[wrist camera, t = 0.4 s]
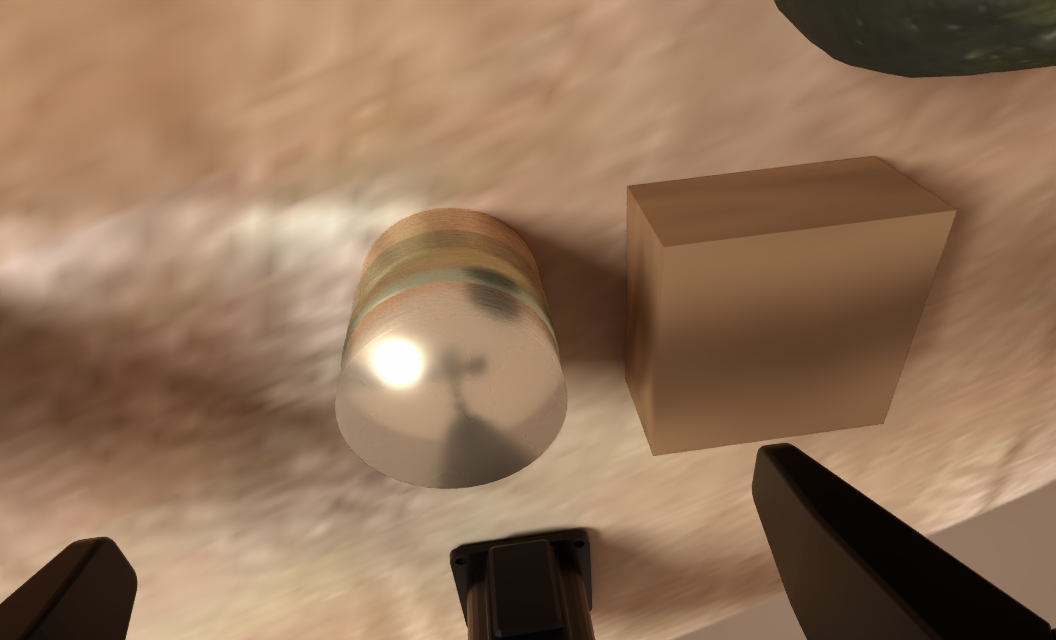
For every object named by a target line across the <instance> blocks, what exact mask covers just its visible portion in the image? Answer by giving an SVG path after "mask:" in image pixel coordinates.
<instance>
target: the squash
mask: <svg viewBox="0 0 1056 640" xmlns="http://www.w3.org/2000/svg"><path fill="white" fill-rule="evenodd" d="M774 1H775V3H776V6H777V7H778V9H779V10H780V11H781V12H782V13H783V14H784V15H785V16H786V17H787V18H788V19H789V21H790V22H791V23H792V24H793V25H794V26H795V27H796V28H797V29H798V30H799V31H800V32H801V33H802V34H803V35H804V36H805V37H806V38H807V39H808V40H809V41H810V42H812V43H813V44H815V45H816V46H818V47H819V48H820V49H822V50H823V51H825V52H826V53H827V54H828V55H830V56H831V57H832V58H834V59H836V60H838V61H841V62H843V63H845V64H848V65H851V66H855V67H860V68H864V69H869V70H873V71H878V72H882V73H887V74H893V75H898V76H904V77H910V78H916V77H941V76H967V75H977V74H984V73H990V72H1005V71H1016V70H1024V69H1032V68H1041V67H1049V66H1056V0H774Z"/></svg>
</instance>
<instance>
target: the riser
mask: <svg viewBox="0 0 1056 640" xmlns="http://www.w3.org/2000/svg"><path fill="white" fill-rule="evenodd" d="M956 212H957V209H955V208H953V207H952V206H950V205H949V204H947V203H946V202H944V201H943V200H941V199H940V198H938V197H937V196H935V195H933V194H932V193H930V192H929V191H927V190H926V189H924V188H923V187H921V186H920V185H918V184H917V183H915V182H913V181H912V180H910V179H909V178H907V177H906V176H904V175H903V174H901V173H900V172H898V171H897V170H895V169H893V168H892V167H890V166H889V165H887V164H886V163H884V162H883V161H881V160H880V159H878V158H877V157H875V156H870V157H862V158H854V159H846V160H838V161H830V162H821V163H813V164H805V165H797V166H789V167H781V168H772V169H764V170H756V171H748V172H740V173H732V174H723V175H715V176H707V177H699V178H691V179H683V180H674V181H666V182H658V183H650V184H642V185H634V186H627V273H626V366H625V379H626V382H627V385H628V388H629V390H630V393H631V396H632V399H633V401H634V404H635V407H636V410H637V412H638V415H639V418H640V421H641V424H642V426H643V429H644V432H645V435H646V437H647V440H648V443H649V446H650V449H651V451H652V454H653V456H657V455H664V454H671V453H678V452H685V451H692V450H700V449H707V448H714V447H721V446H728V445H735V444H742V443H749V442H757V441H764V440H771V439H778V438H785V437H792V436H799V435H806V434H813V433H821V432H828V431H835V430H842V429H849V428H856V427H863V426H870V425H878V424H884V421H885V418H886V415H887V412H888V409H889V407H890V404H891V401H892V398H893V395H894V392H895V389H896V386H897V383H898V380H899V378H900V375H901V372H902V369H903V366H904V363H905V360H906V357H907V354H908V351H909V349H910V346H911V343H912V340H913V337H914V334H915V331H916V328H917V325H918V322H919V320H920V317H921V314H922V311H923V308H924V305H925V302H926V299H927V296H928V293H929V291H930V288H931V285H932V282H933V279H934V276H935V273H936V270H937V267H938V265H939V262H940V259H941V256H942V253H943V250H944V247H945V244H946V241H947V238H948V236H949V233H950V230H951V227H952V224H953V221H954V218H955V215H956Z"/></svg>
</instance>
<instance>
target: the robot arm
mask: <svg viewBox="0 0 1056 640" xmlns="http://www.w3.org/2000/svg"><path fill="white" fill-rule="evenodd" d="M752 495H753V499H754V503H755V506H756V509H757V511H758V514H759V517H760V520H761V523H762V526H763V528H764V531H765V534H766V537H767V540H768V543H769V545H770V548H771V551H772V554H773V557H774V560H775V562H776V565H777V568H778V571H779V574H780V577H781V579H782V582H783V585H784V588H785V591H786V593H787V596H788V598H789V601H790V604H791V606H792V608H793V610H794V613H795V615H796V617H797V619H798V621H799V624H800V626H801V627H802V630H803V632H804V634H805V636H806V638H807V640H1056V628H1054V629H1051V626H1050V624H1049V623H1048V622H1047V621H1045V620H1044V619H1042V618H1041V617H1039V616H1038V615H1037V614H1035V613H1034V612H1032V611H1031V610H1029V609H1028V608H1026V607H1025V606H1023V605H1022V604H1021V603H1019V602H1018V601H1016V600H1015V599H1013V598H1012V597H1011V596H1009V595H1008V594H1006V593H1005V592H1003V591H1002V590H1001V589H999V588H998V587H996V586H995V585H993V584H992V583H991V582H989V581H988V580H986V579H985V578H983V577H982V576H980V575H979V574H978V573H976V572H975V571H973V570H972V569H970V568H969V567H968V566H966V565H965V564H963V563H962V562H960V561H959V560H957V559H956V558H954V557H953V556H952V555H950V554H949V553H947V552H946V551H944V550H943V549H942V548H940V547H939V546H937V545H936V544H934V543H933V542H932V541H930V540H929V539H927V538H926V537H924V536H923V535H922V534H920V533H919V532H917V531H916V530H914V529H913V528H911V527H910V526H909V525H907V524H906V523H904V522H903V521H901V520H900V519H899V518H897V517H896V516H894V515H893V514H891V513H890V512H888V511H887V510H886V509H884V508H883V507H881V506H880V505H878V504H877V503H876V502H874V501H873V500H871V499H870V498H868V497H867V496H865V495H864V494H863V493H861V492H860V491H858V490H857V489H855V488H854V487H853V486H851V485H850V484H848V483H847V482H845V481H844V480H842V479H841V478H840V477H838V476H837V475H835V474H834V473H832V472H831V471H830V470H828V469H827V468H825V467H824V466H822V465H821V464H819V463H818V462H817V461H815V460H814V459H812V458H811V457H809V456H808V455H807V454H805V453H804V452H802V451H801V450H799V449H798V448H796V447H795V446H793V445H791V444H789V443H779V444H772V445H765V446H762V447H761V448H760V449H759V450H758V453H757V457H756V463H755V469H754V475H753V481H752ZM450 564H451V568H452V572H453V576H454V580H455V583H456V587H457V591H458V595H459V599H460V603H461V606H462V610H463V614H464V618H465V622H466V625H467V627H468V640H595V636H594V631H593V626H592V621H591V616H590V611H591V610H592V588H591V564H590V542H589V538H588V534H587V533H586V532H585V531H582V530H577V531H570V532H563V533H556V534H549V535H542V536H535V537H528V538H521V539H515V540H508V541H501V542H494V543H487V544H480V545H473V546H466V547H459V548H456V549H454V550H452V551H451V553H450ZM136 592H137V576H136V573H135V571H134V569H133V567H132V566H131V565H130V563H129V562H128V560H127V559H126V557H125V556H124V555H123V553H122V552H121V550H120V549H119V547H118V546H117V545H116V543H115V542H114V541H113V540H112V539H110V538H108V537H97V538H89V539H82V540H78V541H75V542H73V543H71V544H70V545H69V546H67V547H66V548H65V549H64V550H63V551H61V552H60V553H59V554H58V555H57V556H56V557H54V558H53V559H52V560H51V561H50V562H49V563H47V564H46V565H45V566H44V567H43V568H42V569H40V570H39V571H38V572H37V573H36V574H35V575H33V576H32V577H31V578H30V579H29V580H28V581H26V582H25V583H24V584H23V585H22V586H21V587H19V588H18V589H17V590H16V591H15V592H14V593H12V594H11V595H10V596H9V597H8V598H7V599H5V600H4V601H3V602H2V603H1V604H0V640H125V639H126V635H127V631H128V626H129V622H130V618H131V613H132V609H133V605H134V600H135V596H136Z"/></svg>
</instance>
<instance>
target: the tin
mask: <svg viewBox="0 0 1056 640" xmlns="http://www.w3.org/2000/svg"><path fill="white" fill-rule="evenodd" d="M566 410H567V390H566V384H565V380H564V376H563V372H562V368H561V363H560V354H559V347H558V343H557V339H556V335H555V331H554V327H553V323H552V319H551V315H550V310H549V306H548V302H547V298H546V294H545V291H544V288H543V285H542V282H541V280H540V276H539V272H538V268H537V265H536V262H535V259H534V257H533V255H532V253H531V251H530V249H529V248H528V246H527V245H526V243H525V242H524V241H523V240H522V239H521V237H520V236H519V235H518V234H517V233H516V232H514V231H513V230H512V229H511V228H510V227H508V226H507V225H505V224H504V223H502V222H500V221H499V220H497V219H495V218H493V217H490V216H488V215H486V214H482V213H479V212H476V211H471V210H466V209H456V208H444V209H434V210H428V211H424V212H420V213H417V214H414V215H411V216H409V217H407V218H405V219H403V220H401V221H399V222H398V223H396V224H394V225H393V226H391V227H390V228H389V229H388V230H386V231H385V232H384V233H383V234H382V235H381V236H380V237H379V238H378V239H377V240H376V242H375V243H374V244H373V246H372V247H371V249H370V250H369V252H368V254H367V256H366V259H365V261H364V264H363V268H362V271H361V276H360V281H359V284H358V286H357V290H356V293H355V297H354V301H353V306H352V311H351V315H350V320H349V325H348V329H347V334H346V339H345V344H344V348H343V353H342V362H341V372H340V377H339V382H338V386H337V391H336V399H335V413H336V419H337V423H338V427H339V429H340V431H341V434H342V436H343V438H344V439H345V441H346V442H347V444H348V445H349V447H350V448H351V449H352V450H353V452H354V453H355V454H356V455H357V456H358V457H359V458H360V459H362V460H363V461H364V462H365V463H366V464H368V465H369V466H371V467H372V468H374V469H375V470H377V471H378V472H380V473H382V474H384V475H386V476H388V477H391V478H393V479H396V480H399V481H401V482H405V483H409V484H412V485H417V486H423V487H428V488H441V489H448V488H465V487H473V486H478V485H483V484H487V483H490V482H494V481H497V480H500V479H502V478H505V477H508V476H510V475H512V474H514V473H516V472H518V471H520V470H521V469H523V468H524V467H526V466H528V465H529V464H531V463H532V462H533V461H535V460H536V459H537V458H538V457H540V456H541V455H542V454H543V453H544V452H545V451H546V450H547V449H548V448H549V446H550V445H551V444H552V442H553V441H554V440H555V438H556V437H557V435H558V433H559V431H560V429H561V427H562V425H563V422H564V419H565V415H566Z"/></svg>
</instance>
